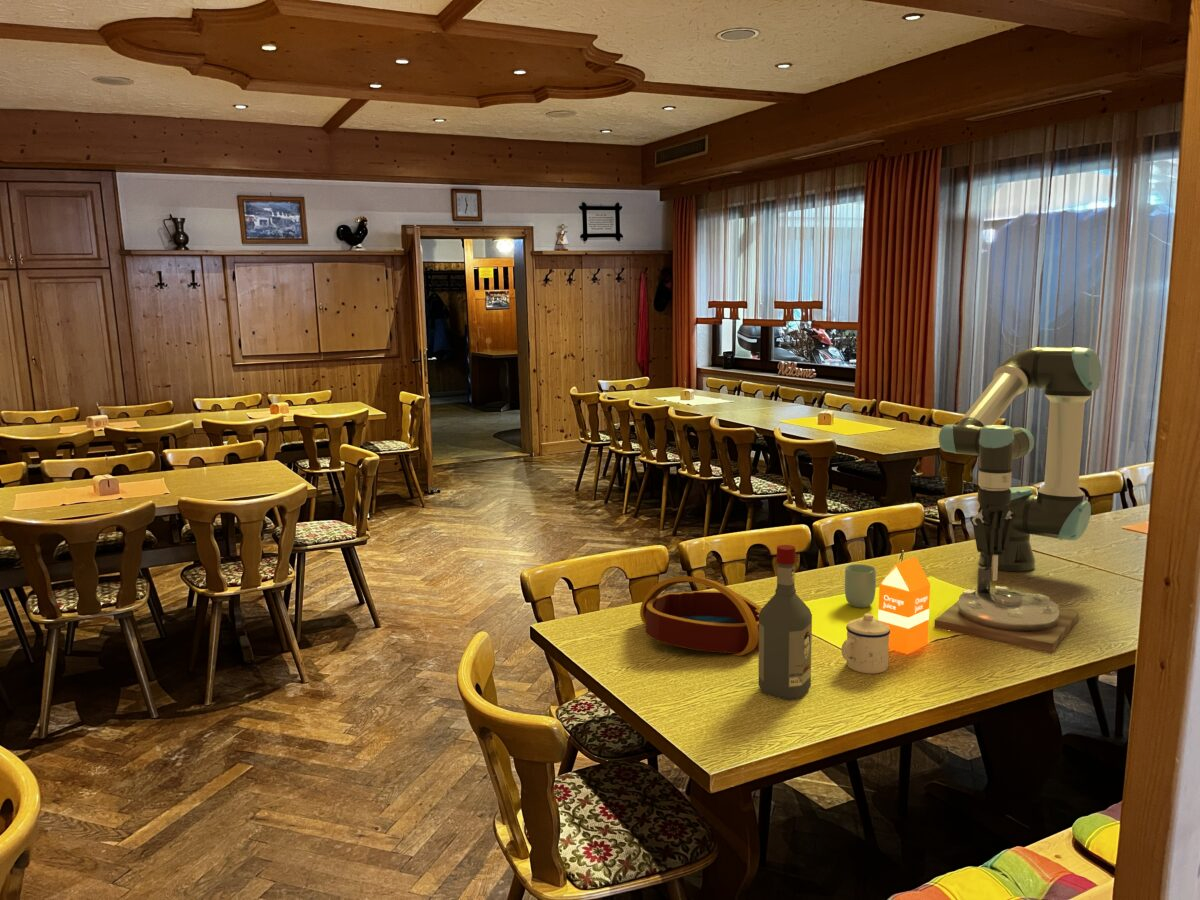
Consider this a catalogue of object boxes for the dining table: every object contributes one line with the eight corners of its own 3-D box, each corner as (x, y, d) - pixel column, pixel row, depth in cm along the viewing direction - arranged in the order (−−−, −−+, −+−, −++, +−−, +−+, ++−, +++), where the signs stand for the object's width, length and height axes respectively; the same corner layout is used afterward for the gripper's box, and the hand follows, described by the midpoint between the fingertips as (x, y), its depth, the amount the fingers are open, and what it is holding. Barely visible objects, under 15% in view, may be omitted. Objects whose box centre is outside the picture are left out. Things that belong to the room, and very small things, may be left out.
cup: (841, 607, 225) (842, 570, 224) (847, 599, 232) (848, 562, 231) (872, 612, 222) (873, 574, 220) (877, 602, 228) (878, 566, 227)
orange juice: (877, 644, 200) (879, 560, 197) (898, 635, 205) (900, 553, 202) (907, 654, 194) (910, 568, 191) (928, 644, 200) (931, 560, 196)
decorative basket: (792, 652, 203) (798, 588, 202) (709, 668, 184) (715, 598, 183) (687, 618, 229) (692, 562, 228) (604, 629, 210) (609, 568, 209)
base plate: (968, 599, 229) (968, 591, 229) (1078, 619, 213) (1079, 610, 213) (934, 627, 210) (934, 618, 209) (1052, 652, 193) (1053, 642, 193)
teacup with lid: (866, 655, 194) (867, 605, 192) (898, 668, 186) (900, 616, 185) (826, 666, 188) (827, 615, 186) (858, 681, 180) (859, 627, 179)
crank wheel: (1080, 625, 203) (1082, 588, 202) (999, 635, 198) (1000, 597, 197) (1014, 596, 224) (1016, 562, 223) (939, 604, 219) (941, 570, 218)
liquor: (754, 693, 176) (755, 549, 171) (772, 677, 184) (773, 539, 179) (797, 703, 171) (799, 555, 166) (814, 686, 178) (816, 544, 174)
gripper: (985, 493, 210) (982, 586, 214) (1026, 487, 214) (1022, 579, 218) (962, 487, 217) (959, 578, 221) (1002, 482, 221) (999, 571, 225)
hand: (990, 579), depth 219 cm, fingers closed
